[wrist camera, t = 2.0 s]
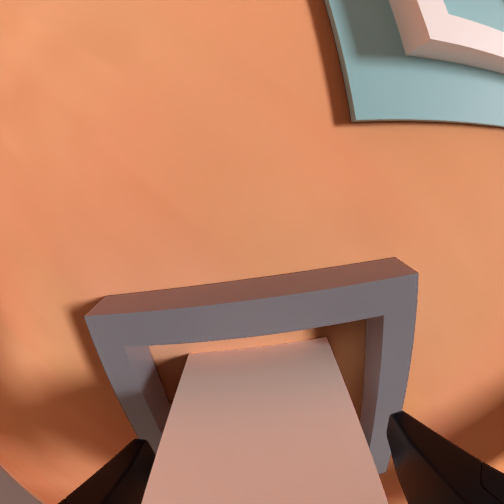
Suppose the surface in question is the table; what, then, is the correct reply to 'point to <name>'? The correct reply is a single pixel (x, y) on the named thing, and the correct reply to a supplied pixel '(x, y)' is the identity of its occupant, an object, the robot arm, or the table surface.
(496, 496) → the robot arm
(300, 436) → the plug block
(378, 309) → the socket
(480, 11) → the socket
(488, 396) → the table surface
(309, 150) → the table surface
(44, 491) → the table surface
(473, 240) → the table surface
